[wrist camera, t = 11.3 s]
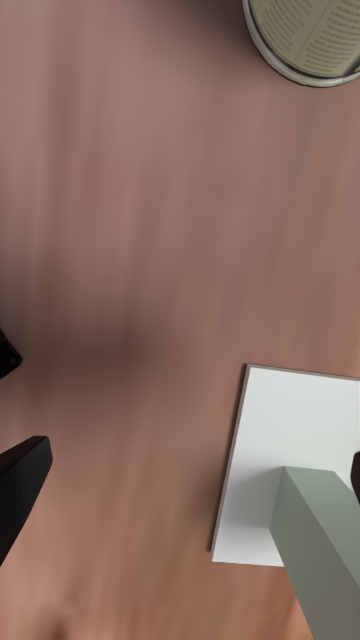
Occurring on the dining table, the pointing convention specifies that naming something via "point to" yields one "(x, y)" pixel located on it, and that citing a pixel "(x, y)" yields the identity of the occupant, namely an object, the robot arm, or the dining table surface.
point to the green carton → (320, 549)
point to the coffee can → (308, 38)
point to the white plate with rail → (281, 451)
